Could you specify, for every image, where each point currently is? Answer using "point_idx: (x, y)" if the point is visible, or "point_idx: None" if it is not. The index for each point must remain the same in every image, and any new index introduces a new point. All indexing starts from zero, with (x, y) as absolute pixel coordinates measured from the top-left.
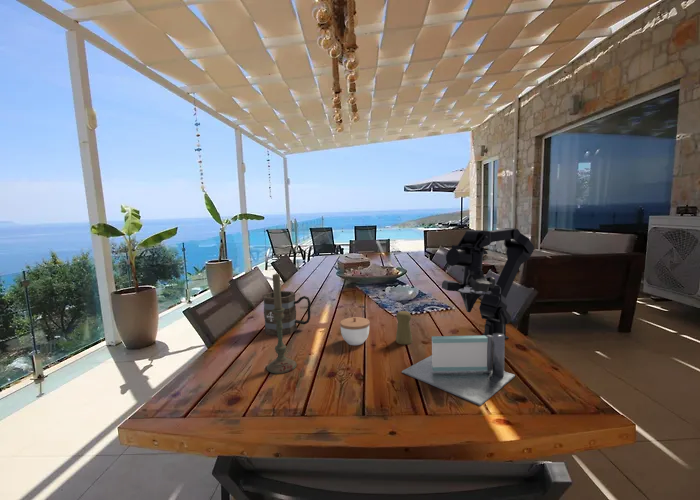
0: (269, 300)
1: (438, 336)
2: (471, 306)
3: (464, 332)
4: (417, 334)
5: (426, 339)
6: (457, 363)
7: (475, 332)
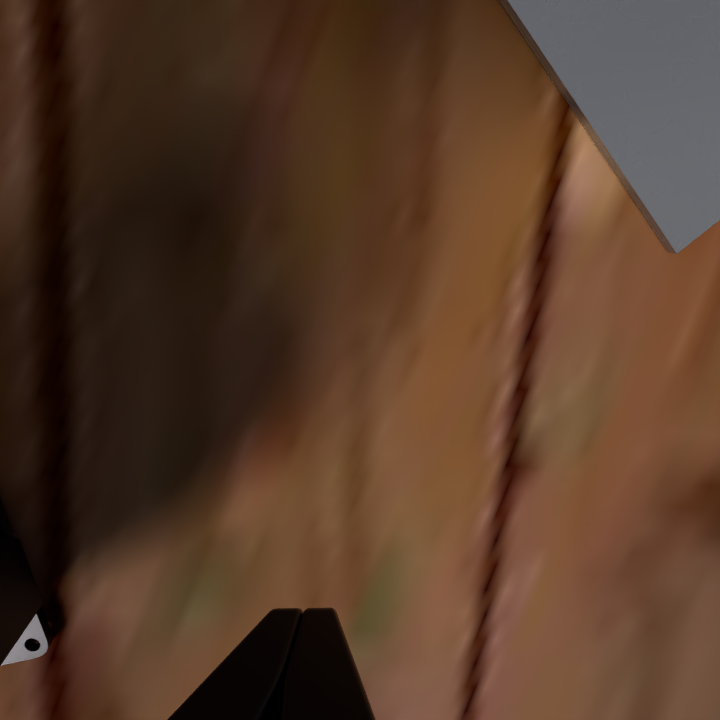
0: None
1: None
2: (230, 716)
3: None
4: (704, 699)
5: (670, 575)
6: None
7: (107, 708)
